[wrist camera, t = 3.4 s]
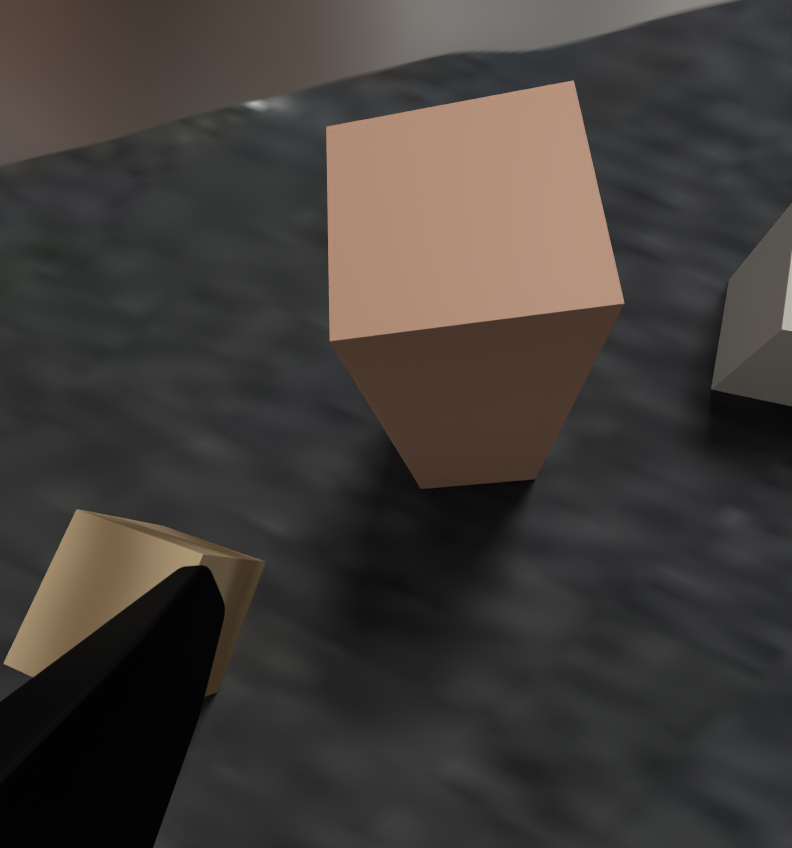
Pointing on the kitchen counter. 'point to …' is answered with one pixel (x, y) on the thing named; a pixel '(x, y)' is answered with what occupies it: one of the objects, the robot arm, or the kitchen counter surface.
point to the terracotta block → (470, 277)
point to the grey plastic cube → (759, 322)
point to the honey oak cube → (124, 586)
